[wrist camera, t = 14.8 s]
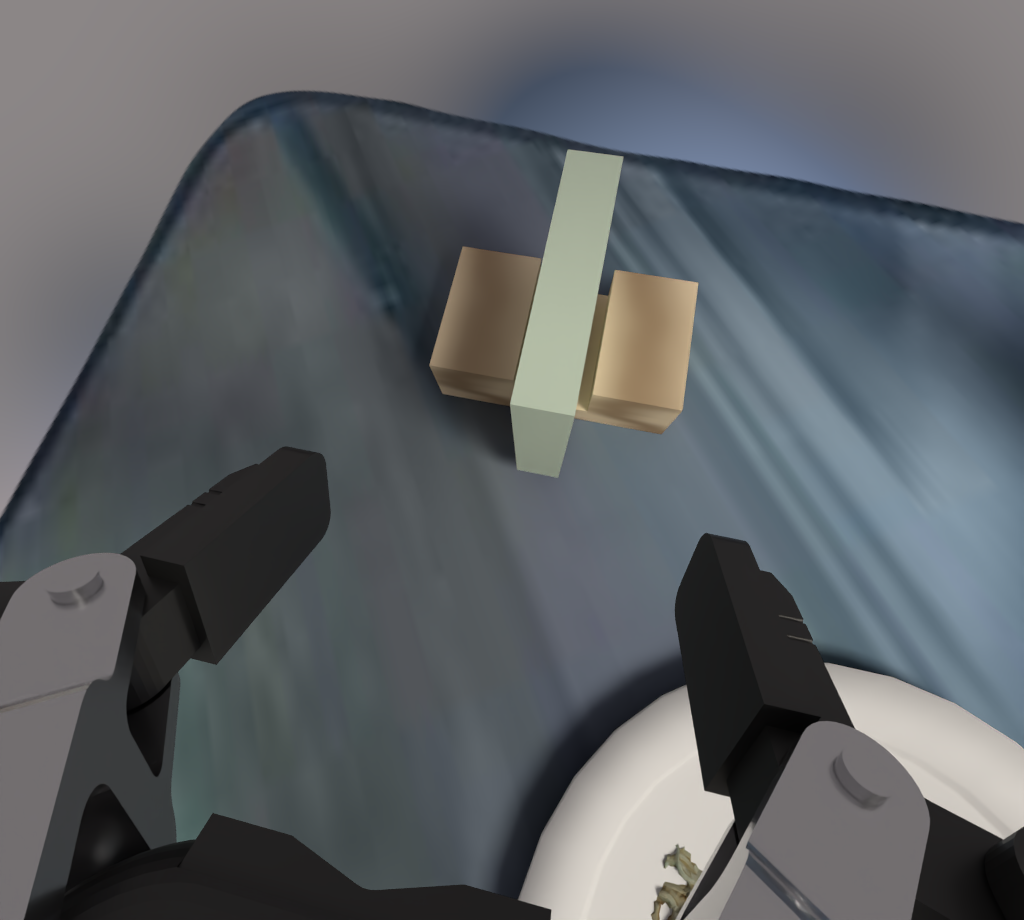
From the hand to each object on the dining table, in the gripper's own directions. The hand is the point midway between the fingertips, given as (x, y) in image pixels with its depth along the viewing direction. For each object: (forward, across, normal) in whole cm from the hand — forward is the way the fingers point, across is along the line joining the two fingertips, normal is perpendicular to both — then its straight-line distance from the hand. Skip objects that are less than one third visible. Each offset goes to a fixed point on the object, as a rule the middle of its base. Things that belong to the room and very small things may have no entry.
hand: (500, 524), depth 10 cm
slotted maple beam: (+22, 0, +3) cm, 22 cm away
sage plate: (+19, 0, +4) cm, 19 cm away
